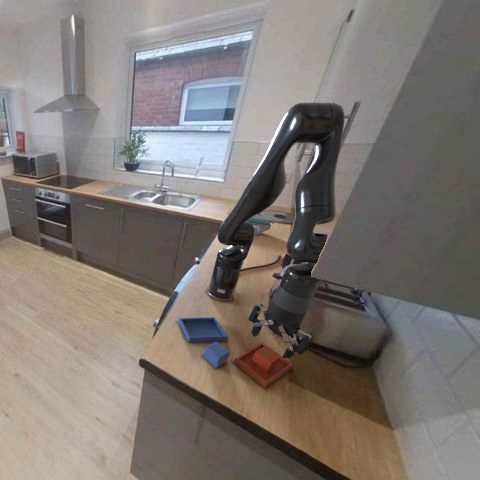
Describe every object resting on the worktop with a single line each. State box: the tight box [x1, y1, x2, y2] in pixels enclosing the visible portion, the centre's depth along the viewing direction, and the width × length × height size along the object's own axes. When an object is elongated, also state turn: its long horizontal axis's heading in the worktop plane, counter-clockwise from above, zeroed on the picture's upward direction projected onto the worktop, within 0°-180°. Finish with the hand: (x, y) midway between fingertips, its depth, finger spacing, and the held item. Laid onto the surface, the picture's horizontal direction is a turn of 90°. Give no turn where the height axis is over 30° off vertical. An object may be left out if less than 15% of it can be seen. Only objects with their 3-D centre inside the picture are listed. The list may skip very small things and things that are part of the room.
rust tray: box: [233, 342, 294, 389], centre depth 77 cm, size 13×9×2 cm
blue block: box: [203, 341, 230, 369], centre depth 78 cm, size 4×4×4 cm
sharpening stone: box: [226, 211, 276, 236], centre depth 164 cm, size 25×8×11 cm, turn 64°
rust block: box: [251, 346, 280, 374], centre depth 76 cm, size 4×4×4 cm
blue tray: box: [177, 316, 229, 343], centre depth 89 cm, size 13×9×2 cm
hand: (269, 345), depth 74 cm, fingers open, 8 cm apart
